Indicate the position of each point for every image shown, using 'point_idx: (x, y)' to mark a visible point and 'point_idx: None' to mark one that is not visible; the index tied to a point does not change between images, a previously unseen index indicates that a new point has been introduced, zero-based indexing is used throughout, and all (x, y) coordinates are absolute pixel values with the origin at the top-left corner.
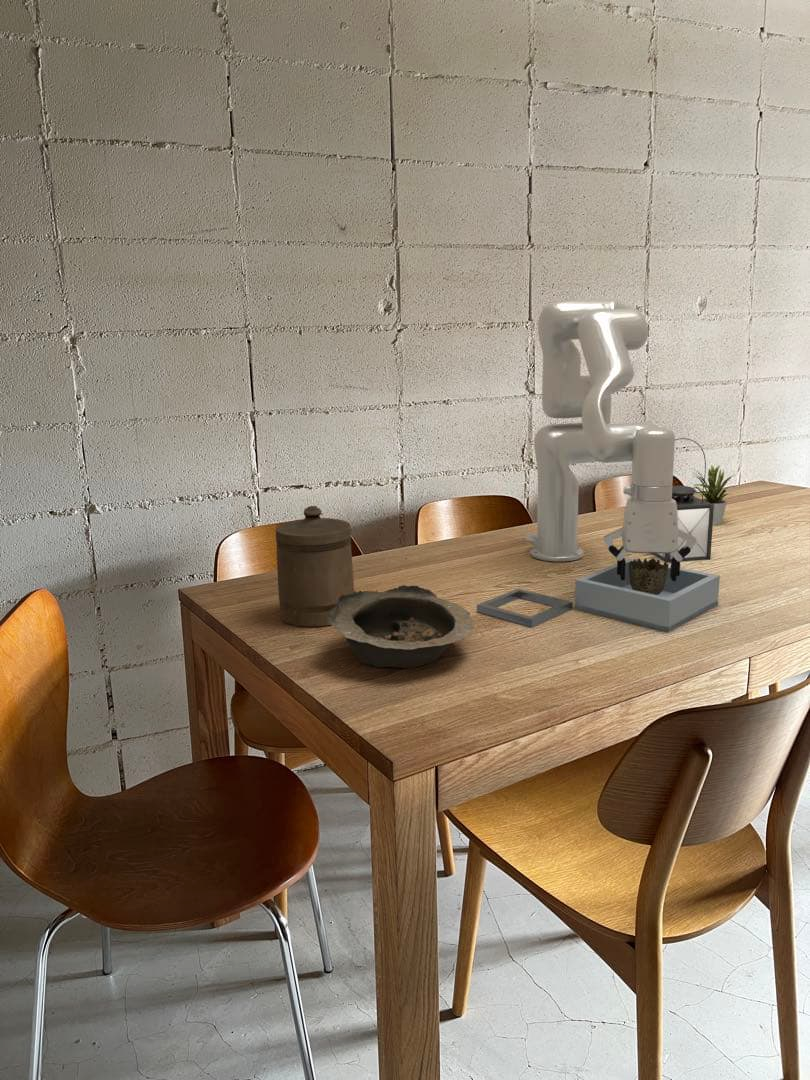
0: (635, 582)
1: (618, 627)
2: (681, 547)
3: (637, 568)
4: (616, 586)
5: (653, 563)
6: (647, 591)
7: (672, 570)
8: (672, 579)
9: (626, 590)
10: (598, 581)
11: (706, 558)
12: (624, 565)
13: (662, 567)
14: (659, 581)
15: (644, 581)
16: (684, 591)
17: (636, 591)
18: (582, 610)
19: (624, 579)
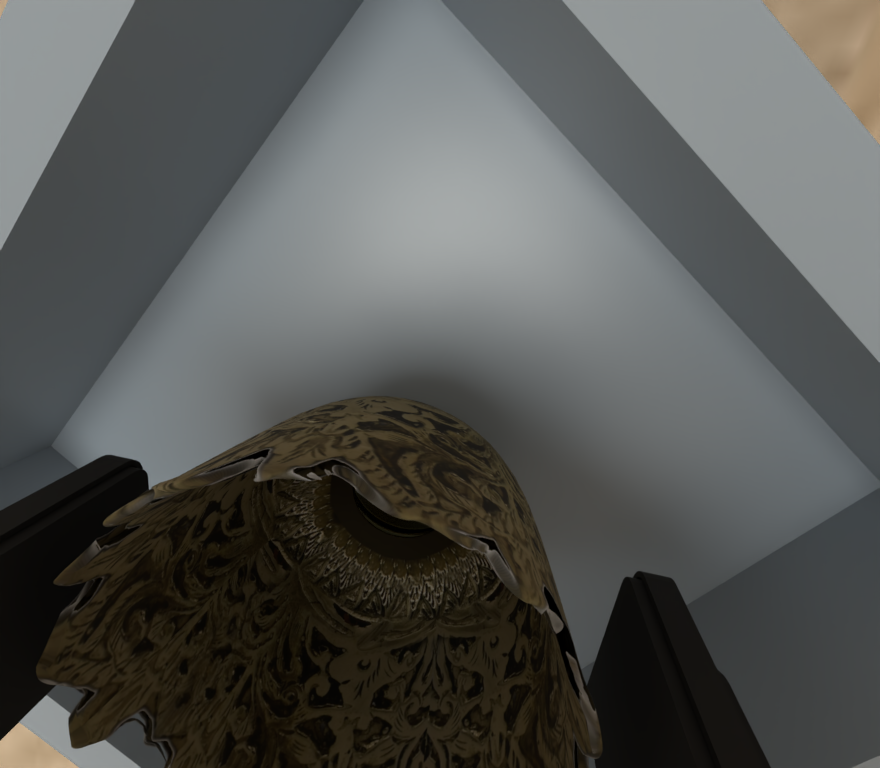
0: (522, 500)
1: (777, 13)
2: None
3: (526, 586)
4: (865, 328)
5: None
6: (420, 402)
7: (52, 548)
8: (133, 470)
9: (800, 129)
10: (801, 694)
11: None
12: (702, 746)
13: (162, 691)
14: (272, 427)
15: (439, 442)
16: (40, 39)
17: (669, 62)
18: None
19: (629, 577)
